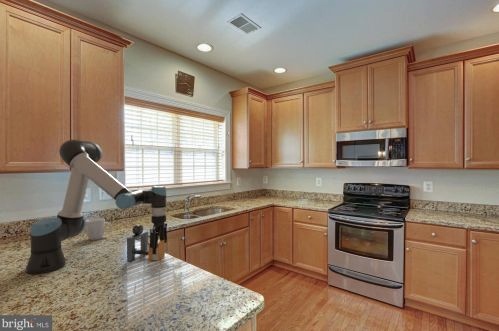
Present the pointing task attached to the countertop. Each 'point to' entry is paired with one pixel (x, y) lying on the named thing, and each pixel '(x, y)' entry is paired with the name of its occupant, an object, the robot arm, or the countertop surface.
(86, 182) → the robot arm
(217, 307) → the countertop surface
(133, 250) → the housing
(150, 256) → the plug
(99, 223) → the mug
